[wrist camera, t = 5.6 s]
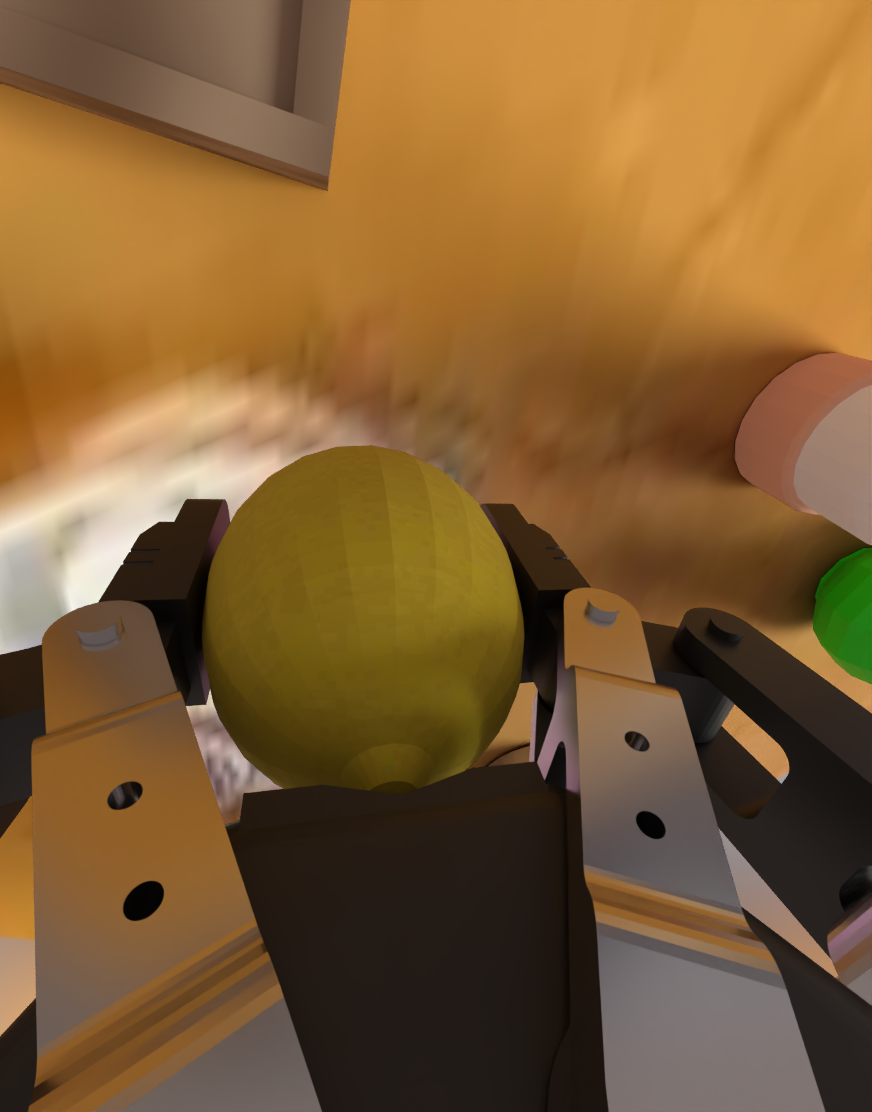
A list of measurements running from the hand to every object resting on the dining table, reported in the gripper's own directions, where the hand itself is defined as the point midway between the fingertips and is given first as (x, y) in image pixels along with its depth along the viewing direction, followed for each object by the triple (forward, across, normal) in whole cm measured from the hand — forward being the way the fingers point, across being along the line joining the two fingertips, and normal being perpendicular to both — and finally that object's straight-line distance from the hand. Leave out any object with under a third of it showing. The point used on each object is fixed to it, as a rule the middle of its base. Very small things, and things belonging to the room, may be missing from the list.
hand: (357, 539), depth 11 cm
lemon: (+2, 0, 0) cm, 2 cm away
